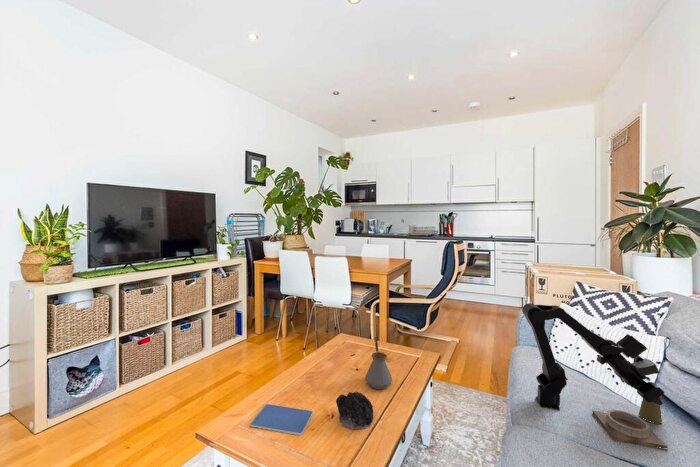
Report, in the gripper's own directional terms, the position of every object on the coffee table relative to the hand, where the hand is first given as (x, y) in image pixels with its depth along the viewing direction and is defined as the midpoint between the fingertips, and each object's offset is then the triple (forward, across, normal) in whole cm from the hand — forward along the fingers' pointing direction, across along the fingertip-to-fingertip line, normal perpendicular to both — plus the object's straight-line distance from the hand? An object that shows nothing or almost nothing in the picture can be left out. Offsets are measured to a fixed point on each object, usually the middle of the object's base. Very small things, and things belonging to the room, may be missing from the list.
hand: (656, 400), depth 109 cm
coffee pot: (-66, -2, +77) cm, 102 cm away
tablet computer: (-84, -39, +97) cm, 134 cm away
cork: (+4, 0, +6) cm, 7 cm away
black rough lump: (-68, -31, +79) cm, 108 cm away
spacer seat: (-4, -10, +14) cm, 18 cm away
